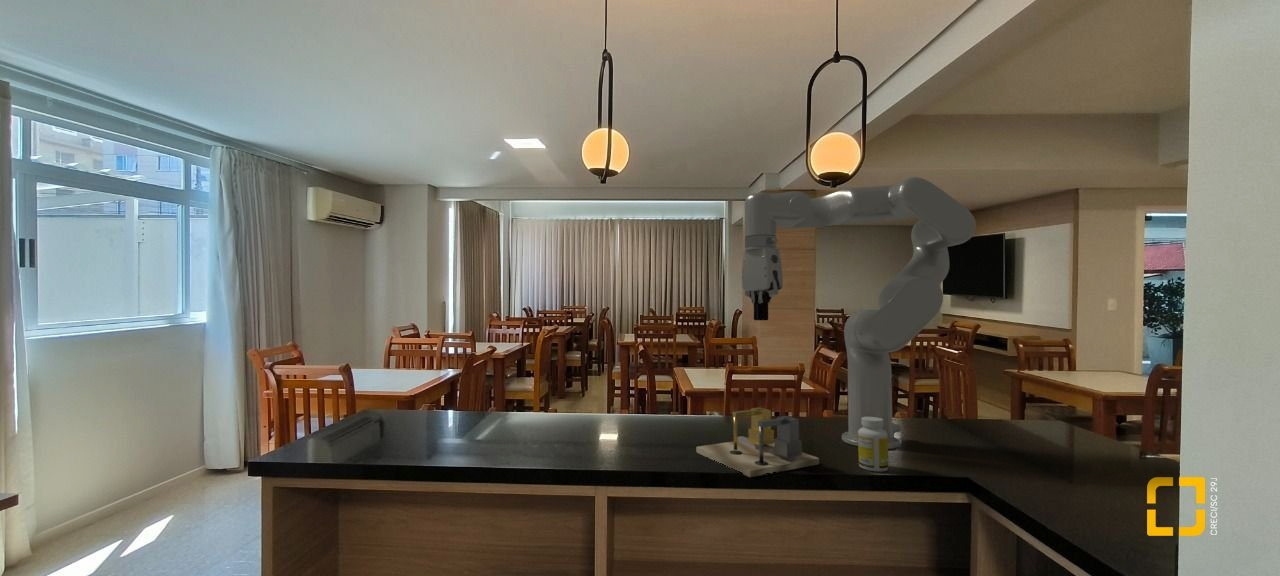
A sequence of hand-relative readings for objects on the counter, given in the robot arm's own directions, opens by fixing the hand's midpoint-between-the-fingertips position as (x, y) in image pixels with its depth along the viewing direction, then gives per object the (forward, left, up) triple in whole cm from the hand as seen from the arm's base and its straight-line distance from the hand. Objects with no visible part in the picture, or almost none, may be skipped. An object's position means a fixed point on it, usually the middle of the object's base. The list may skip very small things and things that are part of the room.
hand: (760, 320), depth 118 cm
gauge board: (+10, +9, -29) cm, 32 cm away
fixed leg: (+10, +16, -28) cm, 33 cm away
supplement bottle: (-7, +25, -29) cm, 39 cm away
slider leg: (+10, +8, -27) cm, 30 cm away
